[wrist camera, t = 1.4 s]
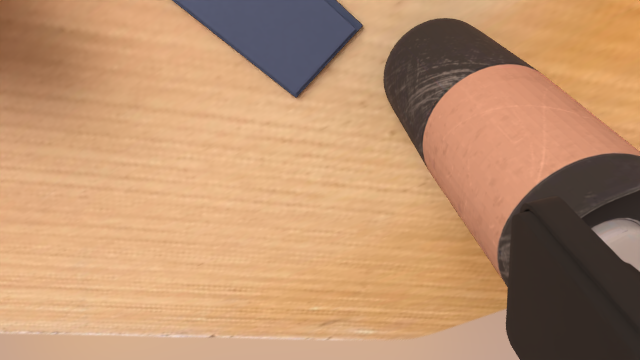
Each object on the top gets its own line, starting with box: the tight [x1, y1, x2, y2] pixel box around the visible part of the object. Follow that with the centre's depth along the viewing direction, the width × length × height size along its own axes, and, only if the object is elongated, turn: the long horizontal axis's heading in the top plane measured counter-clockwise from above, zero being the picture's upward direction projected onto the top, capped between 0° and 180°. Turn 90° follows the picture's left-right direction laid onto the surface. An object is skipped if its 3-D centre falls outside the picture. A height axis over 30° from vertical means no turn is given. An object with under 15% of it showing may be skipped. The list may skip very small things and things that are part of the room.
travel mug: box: [384, 18, 640, 287], centre depth 31 cm, size 8×8×20 cm
